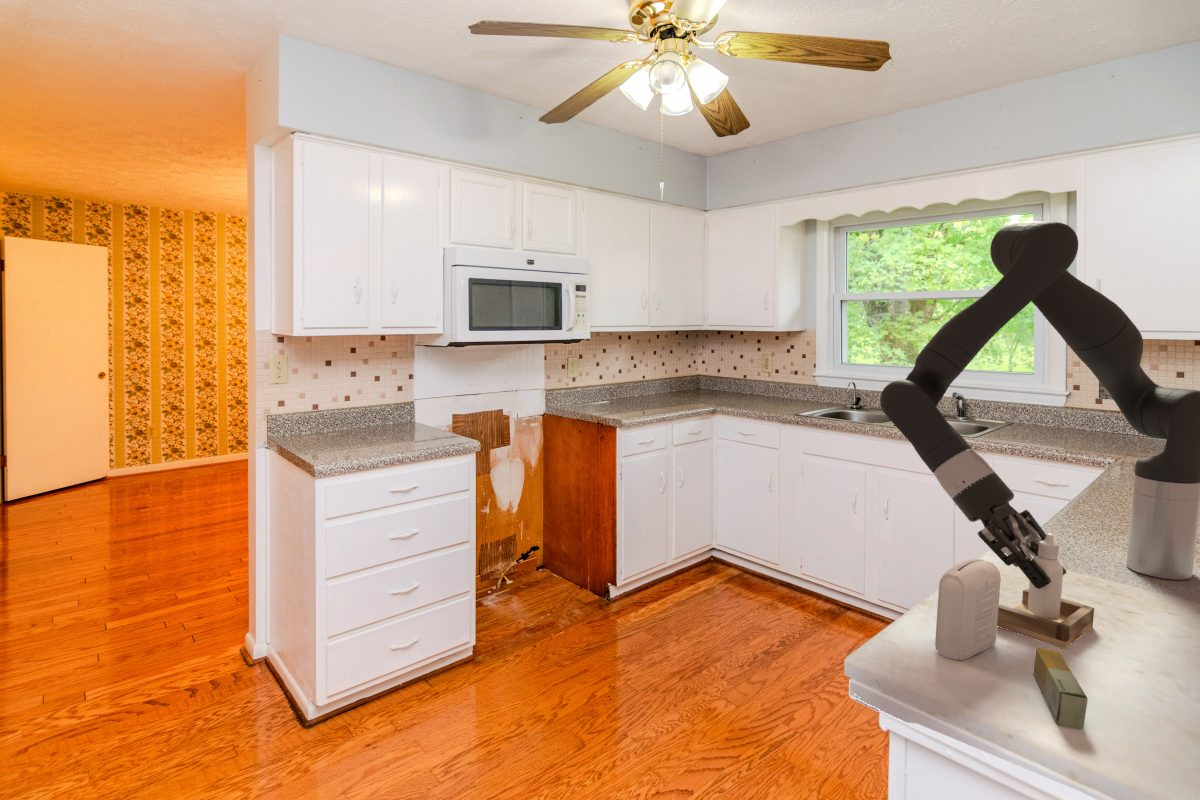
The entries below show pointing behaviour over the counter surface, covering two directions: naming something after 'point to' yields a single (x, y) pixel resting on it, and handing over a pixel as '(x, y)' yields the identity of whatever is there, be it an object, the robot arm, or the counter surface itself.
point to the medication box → (1060, 689)
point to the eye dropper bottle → (1049, 596)
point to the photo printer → (967, 609)
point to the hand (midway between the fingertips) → (1052, 580)
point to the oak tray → (1048, 622)
